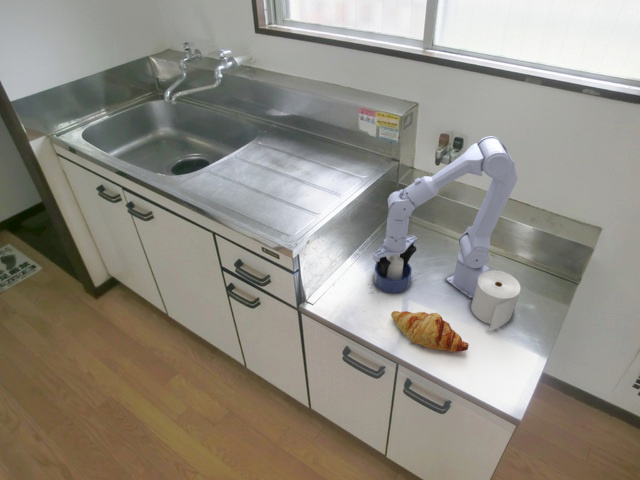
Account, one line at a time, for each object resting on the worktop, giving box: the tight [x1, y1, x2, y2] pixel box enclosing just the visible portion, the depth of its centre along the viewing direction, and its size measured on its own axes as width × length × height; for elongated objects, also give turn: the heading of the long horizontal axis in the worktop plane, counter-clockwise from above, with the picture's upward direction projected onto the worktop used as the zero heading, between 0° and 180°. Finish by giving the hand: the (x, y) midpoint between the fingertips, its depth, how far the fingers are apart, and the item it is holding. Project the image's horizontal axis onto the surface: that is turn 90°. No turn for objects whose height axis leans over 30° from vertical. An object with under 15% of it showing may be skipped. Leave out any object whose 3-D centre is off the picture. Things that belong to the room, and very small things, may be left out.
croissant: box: [390, 310, 470, 353], centre depth 116 cm, size 21×10×8 cm, turn 55°
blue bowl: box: [373, 262, 413, 294], centre depth 133 cm, size 10×10×5 cm
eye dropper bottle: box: [383, 254, 404, 280], centre depth 130 cm, size 4×6×12 cm
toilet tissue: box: [470, 269, 521, 332], centre depth 120 cm, size 11×12×10 cm
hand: (393, 270), depth 132 cm, fingers open, 7 cm apart
